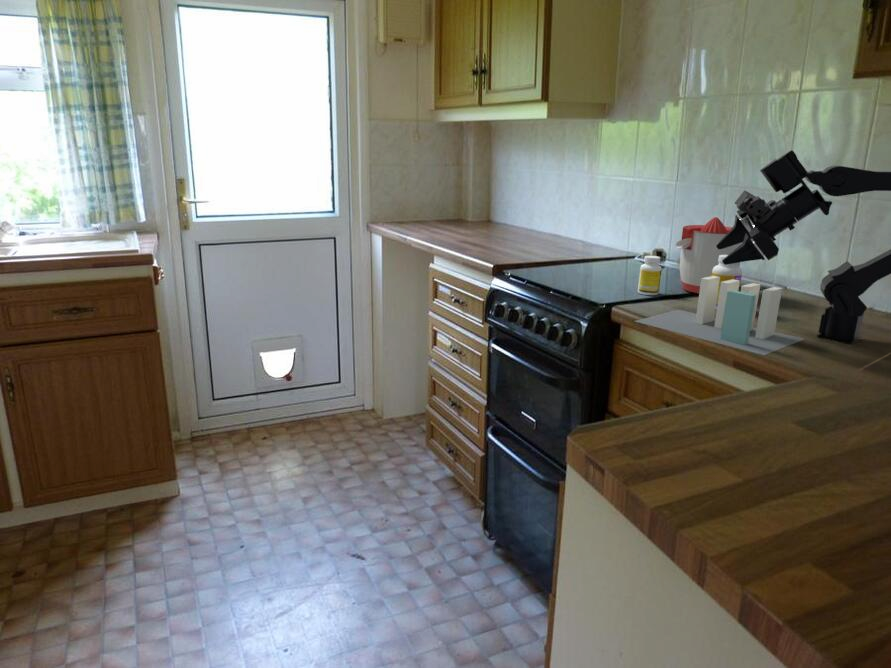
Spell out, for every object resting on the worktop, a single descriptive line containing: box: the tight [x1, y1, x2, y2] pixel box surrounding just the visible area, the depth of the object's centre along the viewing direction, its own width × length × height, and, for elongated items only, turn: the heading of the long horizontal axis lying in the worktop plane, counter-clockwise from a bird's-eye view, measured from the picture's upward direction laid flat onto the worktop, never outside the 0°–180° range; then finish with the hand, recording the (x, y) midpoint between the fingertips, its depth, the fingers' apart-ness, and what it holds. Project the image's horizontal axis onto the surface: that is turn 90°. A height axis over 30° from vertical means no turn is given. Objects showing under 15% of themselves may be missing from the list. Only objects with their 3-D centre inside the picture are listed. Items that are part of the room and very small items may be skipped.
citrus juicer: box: [675, 216, 743, 295], centre depth 176 cm, size 16×17×20 cm
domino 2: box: [714, 279, 741, 329], centre depth 142 cm, size 2×5×10 cm, turn 130°
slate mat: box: [633, 309, 805, 356], centre depth 141 cm, size 29×18×1 cm, turn 40°
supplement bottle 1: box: [637, 255, 663, 296], centre depth 173 cm, size 5×5×10 cm
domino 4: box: [755, 286, 783, 339], centre depth 136 cm, size 2×5×10 cm, turn 130°
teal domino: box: [720, 290, 756, 345], centre depth 132 cm, size 2×5×10 cm, turn 40°
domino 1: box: [695, 276, 720, 324], centre depth 145 cm, size 2×5×10 cm, turn 130°
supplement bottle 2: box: [712, 255, 743, 311], centre depth 158 cm, size 7×7×13 cm
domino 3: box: [740, 282, 761, 331], centre depth 139 cm, size 2×5×10 cm, turn 130°
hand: (720, 255), depth 142 cm, fingers open, 9 cm apart
